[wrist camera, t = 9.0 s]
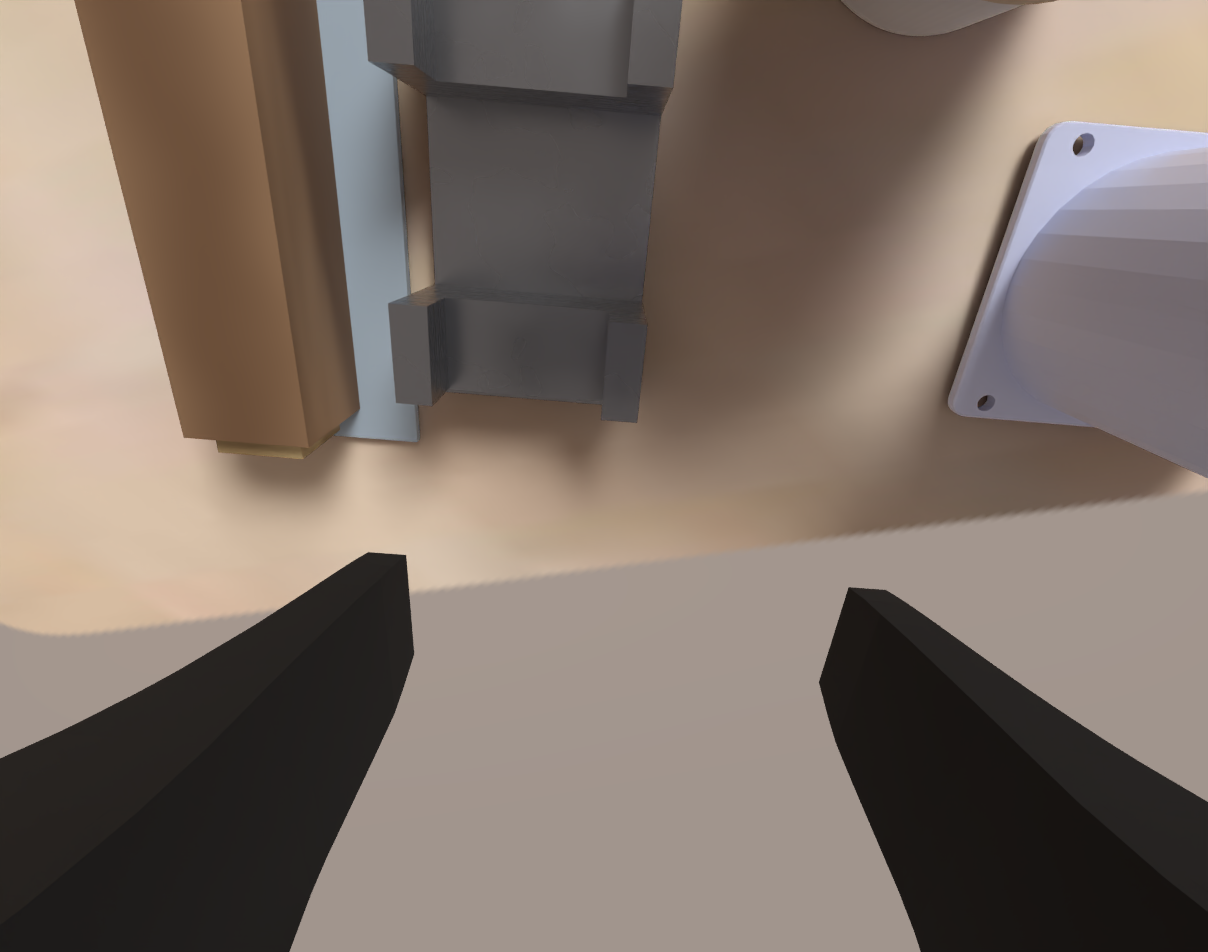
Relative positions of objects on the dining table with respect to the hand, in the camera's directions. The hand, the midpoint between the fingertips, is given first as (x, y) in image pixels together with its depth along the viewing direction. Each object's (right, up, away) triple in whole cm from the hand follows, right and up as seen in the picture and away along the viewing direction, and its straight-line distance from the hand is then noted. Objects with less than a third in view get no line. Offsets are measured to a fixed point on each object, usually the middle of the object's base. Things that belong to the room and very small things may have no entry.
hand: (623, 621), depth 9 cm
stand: (-2, +10, +7) cm, 12 cm away
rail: (-10, +10, +7) cm, 15 cm away
